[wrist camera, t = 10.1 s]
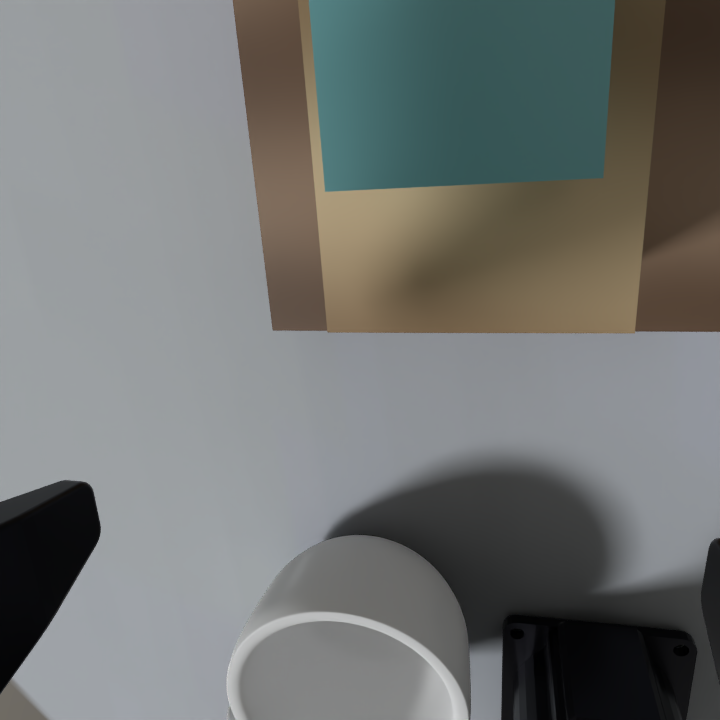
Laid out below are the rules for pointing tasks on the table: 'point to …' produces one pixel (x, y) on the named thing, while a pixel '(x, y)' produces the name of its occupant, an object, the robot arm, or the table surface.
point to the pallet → (500, 226)
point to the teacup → (353, 640)
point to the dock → (665, 191)
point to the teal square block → (461, 91)
